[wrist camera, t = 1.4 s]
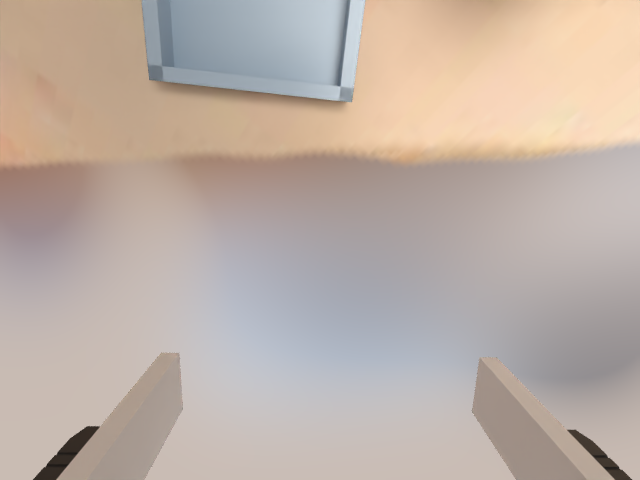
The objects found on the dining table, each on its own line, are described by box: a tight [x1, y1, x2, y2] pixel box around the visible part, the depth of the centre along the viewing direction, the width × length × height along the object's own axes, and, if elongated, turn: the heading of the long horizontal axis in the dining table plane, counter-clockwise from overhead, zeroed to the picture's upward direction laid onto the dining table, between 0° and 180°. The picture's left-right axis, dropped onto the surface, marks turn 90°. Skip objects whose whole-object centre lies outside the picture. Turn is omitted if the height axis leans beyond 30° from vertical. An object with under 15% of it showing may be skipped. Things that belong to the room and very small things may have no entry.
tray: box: [142, 0, 365, 102], centre depth 29 cm, size 14×18×4 cm
